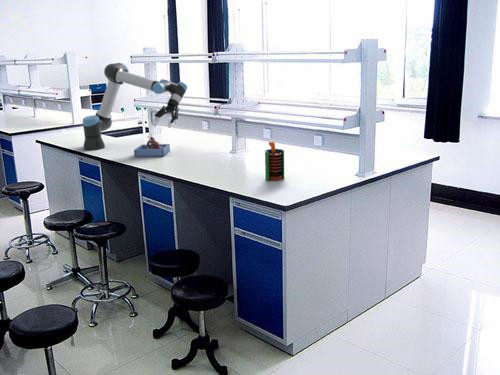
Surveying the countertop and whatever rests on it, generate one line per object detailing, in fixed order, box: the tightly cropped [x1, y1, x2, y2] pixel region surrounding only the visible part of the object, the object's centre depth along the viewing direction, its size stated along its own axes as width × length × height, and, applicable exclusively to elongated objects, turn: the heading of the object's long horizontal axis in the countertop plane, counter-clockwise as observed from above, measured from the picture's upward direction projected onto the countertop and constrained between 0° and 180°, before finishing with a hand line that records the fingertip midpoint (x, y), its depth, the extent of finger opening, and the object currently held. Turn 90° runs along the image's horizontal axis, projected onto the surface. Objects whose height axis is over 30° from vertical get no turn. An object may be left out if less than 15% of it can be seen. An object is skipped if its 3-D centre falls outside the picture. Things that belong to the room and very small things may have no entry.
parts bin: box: [133, 143, 171, 158], centre depth 349 cm, size 20×18×5 cm
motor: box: [264, 141, 285, 182], centre depth 272 cm, size 10×9×20 cm
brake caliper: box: [145, 136, 163, 149], centre depth 349 cm, size 11×11×12 cm
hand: (161, 126), depth 353 cm, fingers open, 13 cm apart
